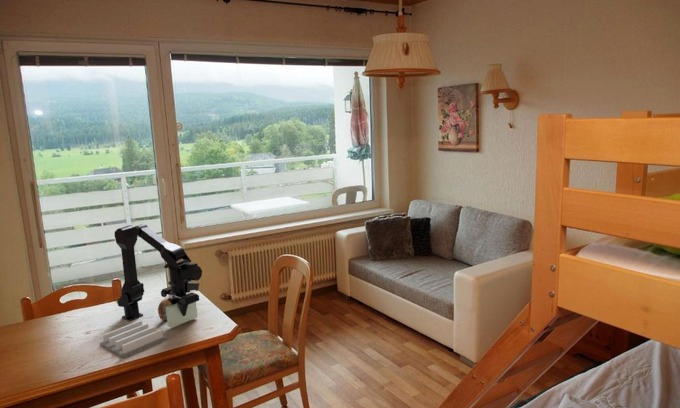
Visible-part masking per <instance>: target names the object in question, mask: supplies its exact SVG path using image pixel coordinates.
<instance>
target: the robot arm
mask: <svg viewBox="0 0 680 408" xmlns="http://www.w3.org/2000/svg"><path fill="white" fill-rule="evenodd" d="M138 237H139V238H141V239H142V240H143V241H144V242H146V243H147V244H148V245H149V246H151V247H153V248H154V249H155V250H156V251H158V253H159V254H160V257H161V259H163V261H164V262H166V264H165V265H164V266H163V268H165V269H168V275H169V281H168V282H167V283H168V285H169V287H164V288H162V289H161V291H160V296H161V297H163V298H167V297H168V296H169V298H168V300H169V302H170V303H171V304H172V305H174V304H176V303H177V305H178V307H179V309H180V312H181V314H182V315H183V316H185V315H186V311H187V307H188V305H189V304H191V303H194V302H196V303H197V302H199V301H200V295H199V294H197V293H196V292H199V288H200V285H201V284H200V282H198V281H199V280H200V279H201V278H202V277H203V276H202V275H203V269H202V268H201V266H199V265H198V262H192V260H191V258H190V257H189V256H188V254H187V252H186V251H185V249H184V248H183V247H182V246H180V245H178V244H176V243H172V242H169V241H167V240H166V239H164V237H162V236H161V235H158V233H156V232H155V231H154V230H153V229H151V228H149V226H148V225H147V224H145V223H142V224H138V225H135V226H134V225H130V224H129V225H126V226H123V227H119V228H117V229H116V230H115V231H114V238H115V243H116V245H117V246H118V247H119V248H120V251H121V259H122V269H123V276H124V277H123V279H124V283H123V285H122V286H121V296H119V299H118V300H117V301H116V303H117V306H118V307H121V308H123V311H124V315H122V316H121V318H122V319H124V320H126V321H132V320H134V319H137V318H140V317H142V316H144V314H143V313H141V312H140V310H139V309H140V308H139V303H138V302H140V301H142V300H143V296H144V293H145V288H144V286H145V285H144V283H143V282H140V280H139V279H138V271H137V270H138V269H137V262H136V261H137V260H136V254H135V253H136V251H135V245H136V243H137V241H138ZM191 291H196V292H191Z"/></svg>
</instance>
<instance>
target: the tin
mask: <svg viewBox="0 0 680 408" xmlns="http://www.w3.org/2000/svg"><path fill="white" fill-rule="evenodd" d="M168 298H169V295H167V296H166V297H164V299H162V300H161V301H160V302H159V304H158V308H157V312H158V317H159V319H160V320H162V321H167V315H166V307H168V306H171V305H172V304H171V303H170V302H169V300H168Z"/></svg>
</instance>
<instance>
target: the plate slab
mask: <svg viewBox="0 0 680 408" xmlns="http://www.w3.org/2000/svg"><path fill="white" fill-rule="evenodd" d="M166 315H167V320H166V321H167V327H169V328H170V329H173V328H175V327H177V326H180V325H182V324H184V323H186V322H189V321H191V320H194V319H197V318H198V310H197V301H196V302H194V303H191V304H189V305H188V307H187V311H186V315H185V316H183V315H182V314H181V312H180V309H179V307H178V305H177V303H176V304H174V305H171V306H168V307H166Z"/></svg>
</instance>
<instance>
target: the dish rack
mask: <svg viewBox="0 0 680 408" xmlns="http://www.w3.org/2000/svg"><path fill="white" fill-rule="evenodd" d="M167 340H168V337H167V336H166V335H164V333H163V329H161V328H160V329H157V330H156V326H155V325H152V326H151V327H149V323H147V322H146V323H144V324H143V321H142V320H137V321H135V322H132V323H130V324H126V325H125V326H121V327H119V328H116V329H115V330H112V331H109V332H106V333H104V334H102V341H100V342H99V345H100V347H102V348H104V349H106V350H108V351H110V352H112V353H113V354H115V355H116V356H118V357H120V358H122V359H126V358H128V357H130V356H133V355H134V354H137V353H138V352H141V351H144V350H145V349H148V348H150V347H153V346H155V345H158V344H159V343H162V342H163V341H167Z"/></svg>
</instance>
